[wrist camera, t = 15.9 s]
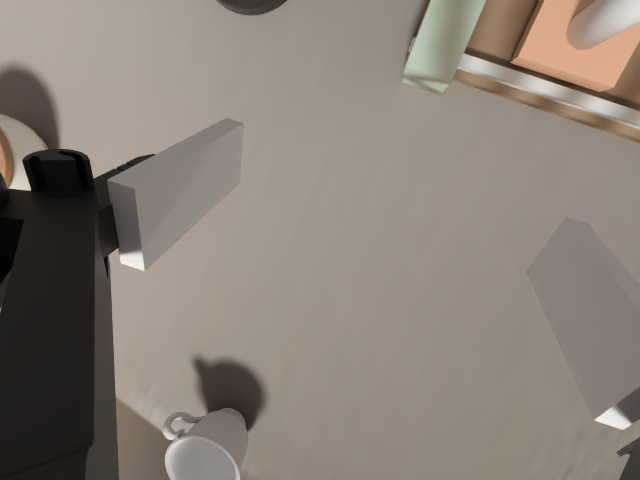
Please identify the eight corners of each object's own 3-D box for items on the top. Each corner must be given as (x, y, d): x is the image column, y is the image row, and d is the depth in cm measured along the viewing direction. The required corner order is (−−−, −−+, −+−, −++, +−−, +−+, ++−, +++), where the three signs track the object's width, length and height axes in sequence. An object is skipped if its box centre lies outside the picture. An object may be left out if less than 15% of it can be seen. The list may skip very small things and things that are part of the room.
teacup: (217, 367, 57) (183, 408, 48) (277, 429, 58) (255, 483, 48) (175, 402, 61) (135, 447, 51) (232, 461, 61) (203, 516, 52)
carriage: (509, 62, 38) (597, -6, 22) (546, -17, 36) (673, -155, 20) (598, 92, 37) (756, 42, 21) (642, 12, 35) (853, -109, 19)
